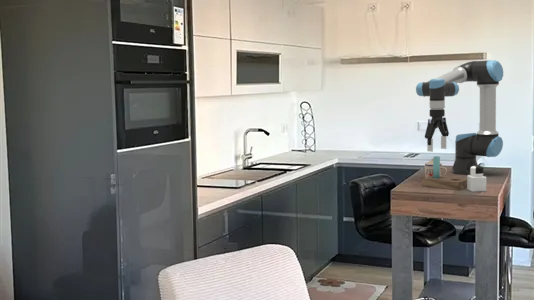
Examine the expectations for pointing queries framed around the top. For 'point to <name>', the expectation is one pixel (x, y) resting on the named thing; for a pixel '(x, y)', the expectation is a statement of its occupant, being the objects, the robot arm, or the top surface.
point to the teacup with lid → (431, 169)
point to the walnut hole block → (445, 183)
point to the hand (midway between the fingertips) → (437, 150)
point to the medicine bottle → (476, 179)
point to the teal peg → (436, 167)
